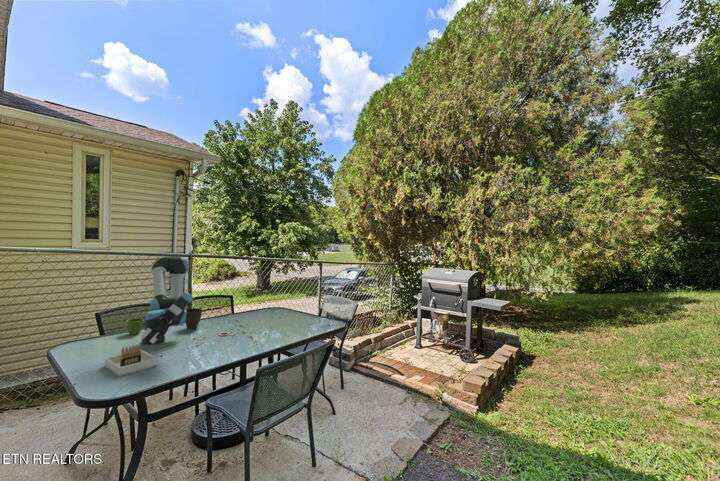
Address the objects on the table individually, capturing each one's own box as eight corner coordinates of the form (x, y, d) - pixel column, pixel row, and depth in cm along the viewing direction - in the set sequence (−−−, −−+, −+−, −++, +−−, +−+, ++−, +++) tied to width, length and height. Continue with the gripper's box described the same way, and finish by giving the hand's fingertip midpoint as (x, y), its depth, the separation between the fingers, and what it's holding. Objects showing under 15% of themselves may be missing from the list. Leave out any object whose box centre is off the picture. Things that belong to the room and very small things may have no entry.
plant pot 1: (136, 336, 250) (137, 322, 250) (121, 335, 250) (122, 321, 250) (147, 332, 261) (147, 318, 261) (132, 331, 262) (133, 317, 262)
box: (104, 366, 192) (104, 358, 192) (141, 357, 209) (141, 349, 209) (119, 376, 180) (119, 367, 180) (156, 366, 197) (157, 358, 197)
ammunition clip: (120, 367, 190) (122, 347, 190) (119, 366, 191) (120, 347, 191) (141, 362, 198) (142, 343, 199) (139, 361, 200) (140, 342, 200)
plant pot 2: (178, 329, 272) (179, 311, 272) (190, 325, 287) (191, 307, 287) (193, 331, 270) (194, 312, 270) (205, 326, 285) (206, 309, 285)
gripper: (185, 319, 208) (159, 347, 196) (167, 312, 222) (142, 338, 210) (177, 312, 204) (150, 341, 192) (160, 306, 218) (133, 332, 206)
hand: (146, 339), depth 201 cm, fingers open, 13 cm apart
